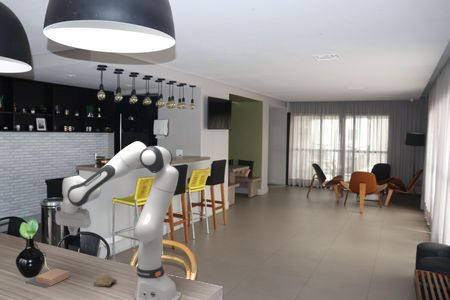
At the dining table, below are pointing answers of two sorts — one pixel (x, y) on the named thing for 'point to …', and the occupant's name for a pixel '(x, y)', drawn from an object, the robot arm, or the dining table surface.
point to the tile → (52, 276)
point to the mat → (37, 283)
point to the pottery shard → (104, 280)
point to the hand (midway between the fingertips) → (73, 234)
